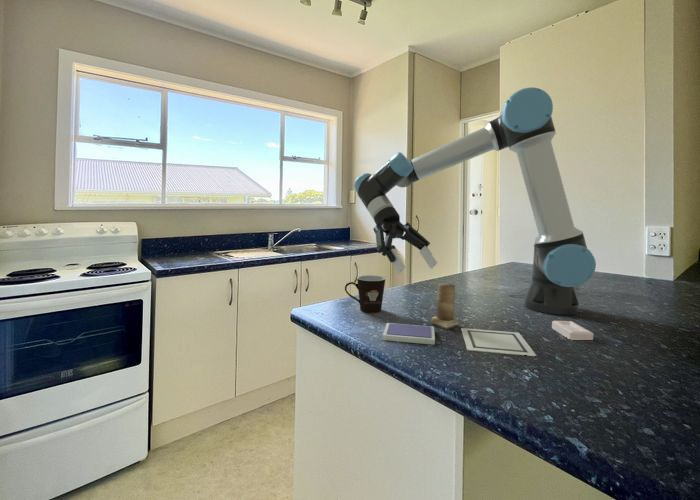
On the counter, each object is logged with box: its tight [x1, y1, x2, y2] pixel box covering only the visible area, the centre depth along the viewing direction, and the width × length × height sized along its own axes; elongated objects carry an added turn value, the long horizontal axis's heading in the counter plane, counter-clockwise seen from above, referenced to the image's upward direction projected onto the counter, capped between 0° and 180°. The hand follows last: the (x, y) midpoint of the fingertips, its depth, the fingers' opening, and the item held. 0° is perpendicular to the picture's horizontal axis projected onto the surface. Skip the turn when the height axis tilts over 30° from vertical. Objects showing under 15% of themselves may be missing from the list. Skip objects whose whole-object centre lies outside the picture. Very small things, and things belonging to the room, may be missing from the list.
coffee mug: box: [344, 274, 386, 314], centre depth 105 cm, size 12×9×10 cm
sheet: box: [460, 327, 537, 357], centre depth 81 cm, size 14×14×1 cm
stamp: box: [430, 282, 459, 330], centre depth 91 cm, size 5×5×11 cm
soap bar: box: [551, 320, 594, 341], centre depth 86 cm, size 5×9×2 cm, turn 177°
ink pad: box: [382, 322, 436, 346], centre depth 84 cm, size 12×9×1 cm
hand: (418, 268), depth 97 cm, fingers open, 13 cm apart
